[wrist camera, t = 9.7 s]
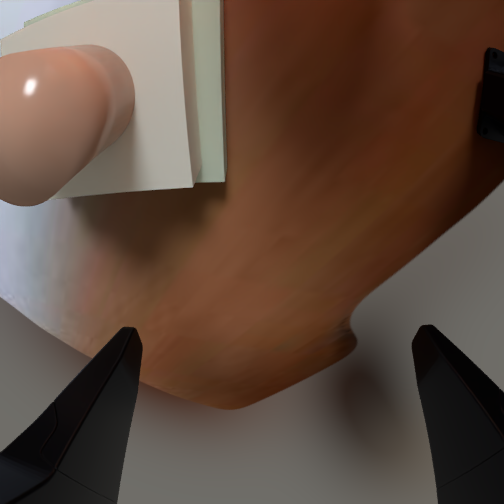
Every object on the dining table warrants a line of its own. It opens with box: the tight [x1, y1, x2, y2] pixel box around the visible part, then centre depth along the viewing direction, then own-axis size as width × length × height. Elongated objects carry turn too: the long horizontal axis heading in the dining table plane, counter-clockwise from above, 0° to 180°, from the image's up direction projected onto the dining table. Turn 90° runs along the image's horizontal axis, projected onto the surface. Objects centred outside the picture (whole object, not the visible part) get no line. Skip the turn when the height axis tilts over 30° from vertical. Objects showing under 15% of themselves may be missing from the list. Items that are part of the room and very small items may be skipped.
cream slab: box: [0, 0, 202, 200], centre depth 12 cm, size 9×9×3 cm
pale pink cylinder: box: [0, 45, 135, 206], centre depth 9 cm, size 5×5×5 cm
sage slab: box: [24, 0, 227, 183], centre depth 15 cm, size 11×11×3 cm
